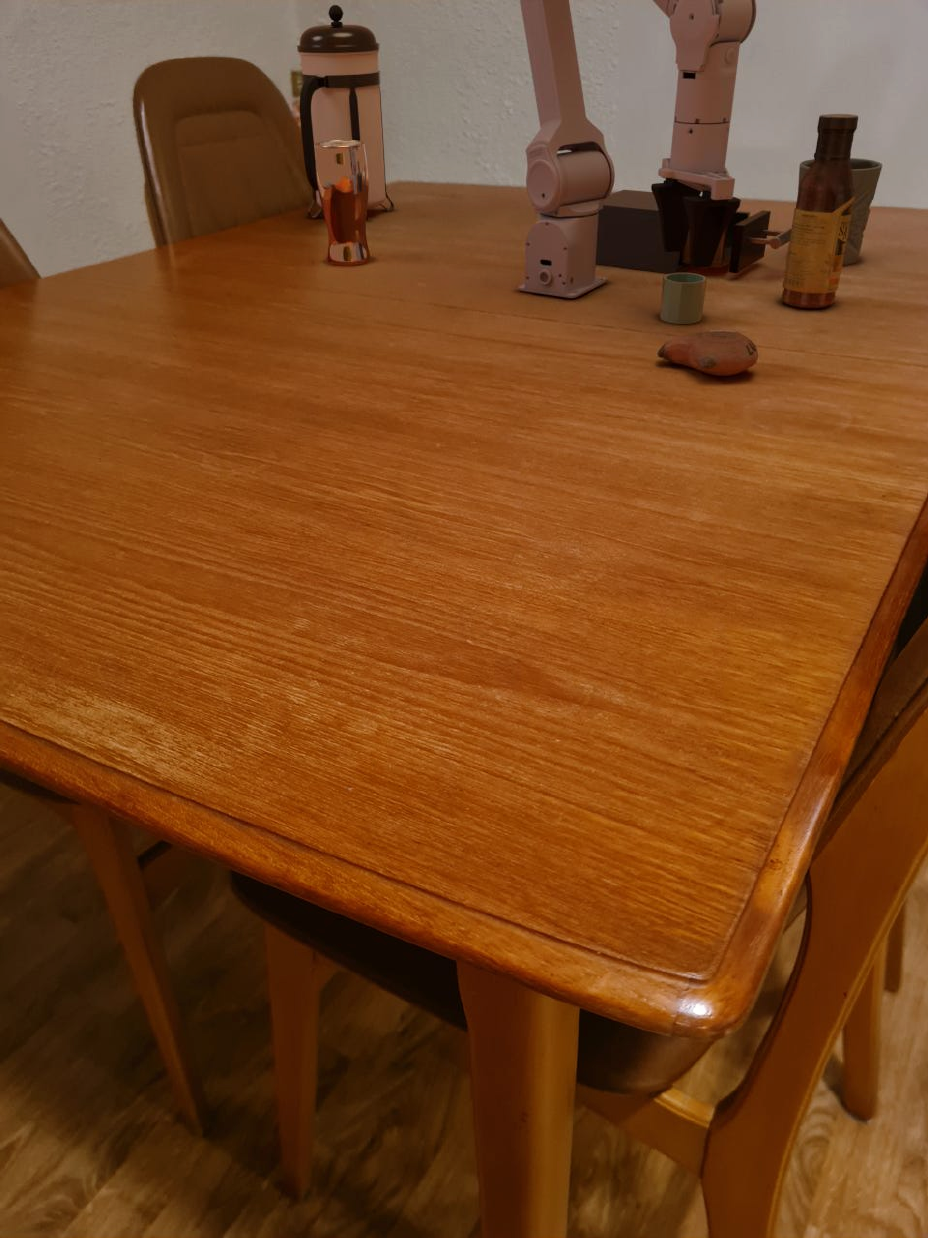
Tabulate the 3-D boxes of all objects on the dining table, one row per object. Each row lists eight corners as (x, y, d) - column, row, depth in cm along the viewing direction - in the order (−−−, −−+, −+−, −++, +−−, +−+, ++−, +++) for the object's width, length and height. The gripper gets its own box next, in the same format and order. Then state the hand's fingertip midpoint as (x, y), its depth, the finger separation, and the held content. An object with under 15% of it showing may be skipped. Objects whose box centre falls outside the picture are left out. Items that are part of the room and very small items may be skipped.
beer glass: (377, 254, 137) (370, 139, 129) (368, 266, 132) (360, 146, 123) (330, 254, 138) (320, 139, 130) (319, 266, 132) (308, 146, 124)
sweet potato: (717, 359, 100) (649, 370, 97) (719, 319, 98) (650, 330, 95) (770, 375, 92) (698, 387, 90) (773, 332, 90) (700, 343, 88)
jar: (691, 326, 107) (696, 285, 104) (653, 320, 109) (657, 279, 106) (707, 316, 110) (712, 275, 107) (669, 310, 112) (673, 270, 109)
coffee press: (294, 209, 166) (272, 5, 150) (383, 202, 170) (371, 2, 154) (311, 229, 153) (289, 6, 136) (408, 221, 156) (398, 3, 140)
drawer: (795, 260, 127) (803, 213, 124) (770, 277, 120) (778, 229, 117) (677, 246, 135) (681, 202, 132) (646, 262, 128) (650, 215, 124)
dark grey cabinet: (708, 255, 134) (715, 197, 129) (675, 274, 126) (682, 212, 121) (619, 245, 140) (623, 189, 136) (583, 262, 132) (586, 202, 128)
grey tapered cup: (878, 262, 129) (899, 165, 122) (817, 270, 126) (835, 171, 119) (828, 247, 137) (845, 154, 130) (769, 254, 134) (784, 160, 127)
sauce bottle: (837, 311, 110) (875, 118, 99) (781, 309, 111) (813, 118, 100) (831, 296, 116) (866, 111, 105) (777, 294, 117) (807, 111, 106)
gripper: (640, 114, 103) (630, 246, 111) (693, 130, 91) (678, 277, 99) (701, 112, 104) (687, 242, 112) (761, 127, 93) (741, 272, 100)
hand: (687, 258), depth 106 cm, fingers open, 7 cm apart
